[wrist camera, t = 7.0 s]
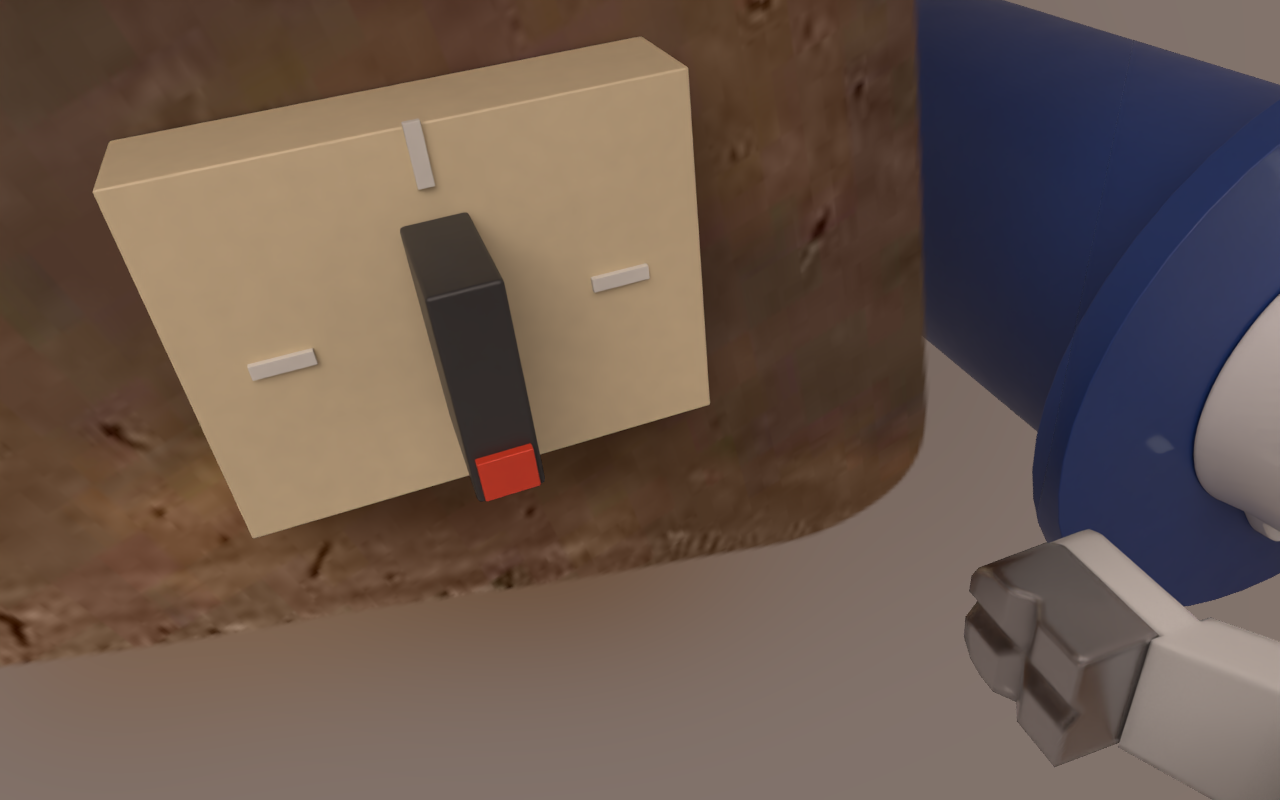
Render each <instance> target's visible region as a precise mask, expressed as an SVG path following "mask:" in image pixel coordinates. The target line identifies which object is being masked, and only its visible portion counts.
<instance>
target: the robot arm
mask: <svg viewBox="0 0 1280 800" xmlns="http://www.w3.org/2000/svg"><path fill="white" fill-rule="evenodd" d="M1194 465H1195V471H1196V474H1197V477H1198V480H1199V482H1200V484H1201V485H1202V487H1203V488H1204V489H1205V490H1206V492H1207V493H1209V494H1210V495H1211V496H1213V497H1214V498H1216V499H1218V500H1220V501H1222V502H1225V503H1227V504H1229V505H1231V506H1234V507H1236V508H1238V509H1240V510H1242V511H1244V512H1245V515H1246V517H1247V519H1248V522H1249V523H1250V525H1251V527H1252V528H1253V529H1254V530H1256V531H1258V532H1259V533H1261V534H1263V535H1264V536H1266V537H1268V538H1269V539H1271V540H1273V541H1280V294H1279V295H1278V296H1277V297H1276V298H1275V299H1274V300H1273V301H1272V302H1271V303H1270V304H1269V306H1268V307H1267V308H1266V309H1265V310H1264V311H1263V312H1262V314H1261V315H1260V316H1259V317H1258V318H1257V320H1256V321H1255V322H1254V323H1253V324H1252V326H1251V327H1250V328H1249V330H1248V331H1247V332H1246V334H1245V335H1244V336H1243V338H1242V339H1241V340H1240V342H1239V343H1238V345H1237V346H1236V347H1235V349H1234V350H1233V352H1232V353H1231V355H1230V357H1229V358H1228V360H1227V361H1226V363H1225V365H1224V366H1223V368H1222V370H1221V372H1220V373H1219V375H1218V377H1217V379H1216V381H1215V383H1214V385H1213V387H1212V389H1211V391H1210V393H1209V395H1208V398H1207V400H1206V403H1205V405H1204V408H1203V410H1202V413H1201V416H1200V420H1199V423H1198V427H1197V431H1196V436H1195V443H1194ZM969 591H970V593H971V594H972V595H973V596H974V597H975V598H976V599H977V603H976V604H975V605H974V606H973V608H972V609H971V611H970V612H969V613H968V614H967V616H966V619H965V630H964V638H965V642H966V645H967V648H968V652H969V655H970V658H971V660H972V662H973V664H974V666H975V667H976V669H977V671H978V673H979V674H980V676H981V677H982V678H983V680H984V681H985V682H986V683H987V685H988V686H989V687H990V688H991V690H992V691H993V692H995V693H997V694H1000V695H1002V696H1004V697H1006V698H1009V699H1011V700H1013V701H1015V702H1016V709H1017V722H1018V723H1019V724H1020V726H1021V727H1022V728H1023V729H1024V730H1025V732H1026V733H1027V734H1028V735H1029V736H1030V738H1031V739H1032V740H1033V741H1034V743H1035V744H1036V745H1037V746H1038V748H1039V749H1040V750H1041V751H1042V752H1043V754H1045V756H1046V757H1047V758H1048V760H1049V761H1050V762H1051V763H1052V765H1053V766H1054V767H1056V766H1059V765H1062V764H1064V763H1067V762H1069V761H1072V760H1075V759H1078V758H1080V757H1083V756H1086V755H1088V754H1091V753H1093V752H1096V751H1099V750H1101V749H1104V748H1107V747H1109V746H1111V745H1114V744H1117V743H1119V746H1118V747H1119V748H1120V749H1122V750H1124V751H1126V752H1128V753H1129V754H1131V755H1133V756H1135V757H1137V758H1138V759H1140V760H1142V761H1144V762H1145V763H1147V764H1149V765H1151V766H1153V767H1154V768H1157V769H1158V770H1160V771H1162V772H1163V773H1165V774H1167V775H1169V776H1171V777H1172V778H1174V779H1176V780H1178V781H1180V782H1182V783H1183V784H1185V785H1187V786H1189V787H1191V788H1192V789H1194V790H1196V791H1198V792H1200V793H1201V794H1203V795H1205V796H1207V797H1209V798H1210V799H1212V800H1280V642H1279V641H1276V640H1273V639H1271V638H1267V637H1265V636H1262V635H1259V634H1256V633H1254V632H1251V631H1248V630H1245V629H1242V628H1240V627H1237V626H1234V625H1231V624H1228V623H1226V622H1223V621H1220V620H1217V619H1214V618H1212V617H1210V618H1207V619H1204V620H1201V621H1200V620H1198V619H1197V618H1196V617H1195V616H1194V615H1193V614H1192V613H1190V612H1189V611H1188V610H1187V609H1186V608H1185V607H1184V606H1183V605H1181V604H1180V603H1179V602H1178V601H1177V600H1176V599H1175V598H1173V597H1172V596H1171V595H1170V594H1169V593H1168V592H1167V591H1166V590H1164V589H1163V588H1162V587H1161V586H1160V585H1159V584H1158V583H1156V582H1155V581H1154V580H1153V579H1152V578H1151V577H1150V576H1148V575H1147V574H1146V573H1145V572H1144V571H1143V570H1142V569H1141V568H1139V567H1138V566H1137V565H1136V564H1135V563H1134V562H1133V561H1131V560H1130V559H1129V558H1128V557H1127V556H1126V555H1125V554H1123V553H1122V552H1121V551H1120V550H1119V549H1118V548H1117V547H1116V546H1114V545H1113V544H1112V543H1111V542H1110V541H1109V540H1108V539H1106V538H1105V537H1104V536H1103V535H1102V534H1100V533H1098V532H1096V531H1093V530H1090V529H1087V530H1083V531H1079V532H1077V533H1074V534H1071V535H1069V536H1066V537H1063V538H1061V539H1058V540H1056V541H1053V542H1050V543H1043V544H1041V545H1038V546H1036V547H1033V548H1030V549H1028V550H1025V551H1022V552H1020V553H1017V554H1014V555H1011V556H1009V557H1006V558H1004V559H1001V560H998V561H995V562H993V563H990V564H988V565H985V566H982V567H979V568H978V569H977V571H975V573H974V574H973V575H972V577H971V583H970V590H969Z"/></svg>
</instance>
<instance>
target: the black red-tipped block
mask: <svg viewBox="0 0 1280 800" xmlns="http://www.w3.org/2000/svg"><path fill="white" fill-rule="evenodd" d="M400 234H401V238H402V242H403V245H404V249H405V253H406V256H407V260H408V264H409V268H410V271H411V275H412V279H413V282H414V286H415V290H416V293H417V297H418V301H419V304H420V308H421V312H422V315H423V319H424V323H425V327H426V330H427V334H428V338H429V341H430V345H431V349H432V352H433V356H434V360H435V363H436V367H437V371H438V374H439V378H440V382H441V385H442V389H443V393H444V397H445V400H446V404H447V408H448V411H449V415H450V418H451V421H452V424H453V427H454V430H455V433H456V436H457V439H458V442H459V445H460V448H461V451H462V454H463V457H464V460H465V463H466V466H467V469H468V472H469V475H470V478H471V481H472V484H473V487H474V491H475V494H476V497H477V499H478V500H479V501H490V500H494V499H497V498H500V497H503V496H507V495H510V494H513V493H517V492H520V491H523V490H526V489H530V488H533V487H536V486H540V485H541V483H543V482H544V480H545V476H544V471H543V466H542V461H541V457H540V452H539V447H538V442H537V437H536V432H535V428H534V423H533V418H532V413H531V408H530V404H529V399H528V394H527V389H526V384H525V379H524V375H523V370H522V365H521V360H520V355H519V351H518V346H517V341H516V336H515V331H514V326H513V322H512V317H511V312H510V307H509V302H508V298H507V293H506V288H505V283H504V280H503V279H502V277H501V275H500V273H499V271H498V269H497V267H496V265H495V263H494V261H493V259H492V257H491V255H490V254H489V252H488V250H487V248H486V246H485V244H484V242H483V240H482V238H481V236H480V234H479V232H478V231H477V229H476V227H475V225H474V223H473V221H472V219H471V217H470V215H469V214H468V213H466V212H463V213H459V214H455V215H451V216H446V217H442V218H438V219H434V220H429V221H425V222H421V223H417V224H412V225H408V226H404V227H402V228H401V229H400Z"/></svg>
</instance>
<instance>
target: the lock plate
mask: <svg viewBox="0 0 1280 800" xmlns="http://www.w3.org/2000/svg"><path fill="white" fill-rule="evenodd" d="M93 194H94V196H95V198H96V201H97V203H98V205H99V207H100V209H101V211H102V214H103V216H104V218H105V220H106V222H107V224H108V227H109V229H110V231H111V233H112V235H113V237H114V240H115V242H116V244H117V246H118V248H119V250H120V253H121V255H122V257H123V259H124V261H125V263H126V266H127V268H128V270H129V272H130V274H131V276H132V279H133V281H134V283H135V285H136V287H137V289H138V292H139V294H140V296H141V298H142V300H143V302H144V304H145V307H146V309H147V311H148V313H149V315H150V317H151V320H152V322H153V324H154V326H155V328H156V330H157V333H158V335H159V337H160V339H161V341H162V343H163V346H164V348H165V350H166V352H167V354H168V356H169V359H170V361H171V363H172V365H173V367H174V369H175V372H176V374H177V376H178V378H179V380H180V382H181V385H182V387H183V389H184V391H185V393H186V395H187V398H188V400H189V402H190V404H191V406H192V408H193V411H194V413H195V415H196V417H197V419H198V421H199V423H200V426H201V428H202V430H203V432H204V434H205V436H206V439H207V441H208V443H209V445H210V447H211V449H212V452H213V454H214V456H215V458H216V460H217V462H218V465H219V467H220V469H221V471H222V473H223V475H224V478H225V480H226V482H227V484H228V486H229V488H230V491H231V493H232V495H233V497H234V499H235V501H236V504H237V506H238V508H239V510H240V512H241V514H242V517H243V519H244V521H245V523H246V525H247V527H248V530H249V532H250V534H251V536H252V537H253V538H258V537H261V536H265V535H268V534H271V533H275V532H278V531H282V530H285V529H288V528H292V527H295V526H299V525H302V524H305V523H309V522H312V521H316V520H319V519H322V518H326V517H329V516H333V515H336V514H339V513H343V512H346V511H350V510H353V509H357V508H360V507H363V506H367V505H370V504H374V503H377V502H380V501H384V500H387V499H391V498H394V497H397V496H401V495H404V494H408V493H411V492H414V491H418V490H421V489H425V488H428V487H431V486H435V485H438V484H442V483H445V482H448V481H452V480H455V479H459V478H462V477H465V476H469V472H468V469H467V466H466V463H465V460H464V457H463V454H462V451H461V448H460V445H459V442H458V439H457V436H456V433H455V430H454V427H453V424H452V421H451V418H450V415H449V411H448V408H447V404H446V400H445V397H444V393H443V389H442V385H441V382H440V378H439V374H438V371H437V367H436V363H435V360H434V356H433V352H432V349H431V345H430V341H429V338H428V334H427V330H426V327H425V323H424V319H423V315H422V312H421V308H420V304H419V301H418V297H417V293H416V290H415V286H414V282H413V279H412V275H411V271H410V268H409V264H408V260H407V256H406V253H405V249H404V245H403V242H402V238H401V234H400V229H401V228H402V227H404V226H408V225H412V224H417V223H421V222H425V221H429V220H434V219H438V218H442V217H446V216H451V215H455V214H459V213H463V212H466V213H468V214H469V215H470V217H471V219H472V221H473V223H474V225H475V227H476V229H477V231H478V232H479V234H480V236H481V238H482V240H483V242H484V244H485V246H486V248H487V250H488V252H489V254H490V255H491V257H492V259H493V261H494V263H495V265H496V267H497V269H498V271H499V273H500V275H501V277H502V279H503V280H504V283H505V288H506V293H507V298H508V302H509V307H510V312H511V317H512V322H513V326H514V331H515V336H516V341H517V346H518V351H519V355H520V360H521V365H522V370H523V375H524V379H525V384H526V389H527V394H528V399H529V404H530V408H531V413H532V418H533V423H534V428H535V432H536V437H537V442H538V447H539V452H540V454H544V453H547V452H550V451H554V450H557V449H561V448H564V447H567V446H571V445H574V444H578V443H581V442H584V441H588V440H591V439H595V438H598V437H601V436H605V435H608V434H612V433H615V432H618V431H622V430H625V429H629V428H632V427H635V426H639V425H642V424H646V423H649V422H652V421H656V420H659V419H663V418H666V417H669V416H673V415H676V414H680V413H683V412H686V411H690V410H693V409H697V408H700V407H703V406H707V405H709V404H710V397H709V382H708V366H707V351H706V336H705V320H704V305H703V289H702V274H701V258H700V243H699V227H698V212H697V196H696V181H695V165H694V150H693V134H692V119H691V103H690V88H689V72H688V67H686V66H685V65H683V64H682V63H680V62H679V61H677V60H676V59H674V58H673V57H671V56H670V55H668V54H667V53H665V52H664V51H662V50H661V49H659V48H658V47H656V46H655V45H654V44H652V43H651V42H649V41H648V40H646V39H645V38H643V37H641V36H640V37H635V38H630V39H625V40H620V41H615V42H610V43H605V44H600V45H595V46H589V47H584V48H579V49H574V50H569V51H564V52H559V53H554V54H549V55H544V56H539V57H534V58H529V59H524V60H519V61H513V62H508V63H503V64H498V65H493V66H488V67H483V68H478V69H473V70H468V71H463V72H458V73H453V74H448V75H443V76H437V77H432V78H427V79H422V80H417V81H412V82H407V83H402V84H397V85H392V86H387V87H382V88H377V89H372V90H367V91H362V92H356V93H351V94H346V95H341V96H336V97H331V98H326V99H321V100H316V101H311V102H306V103H301V104H296V105H291V106H286V107H280V108H275V109H270V110H265V111H260V112H255V113H250V114H245V115H240V116H235V117H230V118H225V119H220V120H215V121H210V122H204V123H199V124H194V125H189V126H184V127H179V128H174V129H169V130H164V131H159V132H154V133H149V134H144V135H139V136H134V137H129V138H123V139H118V140H113V141H110V142H109V144H108V147H107V150H106V153H105V156H104V159H103V162H102V165H101V168H100V171H99V174H98V177H97V180H96V183H95V186H94V189H93Z"/></svg>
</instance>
